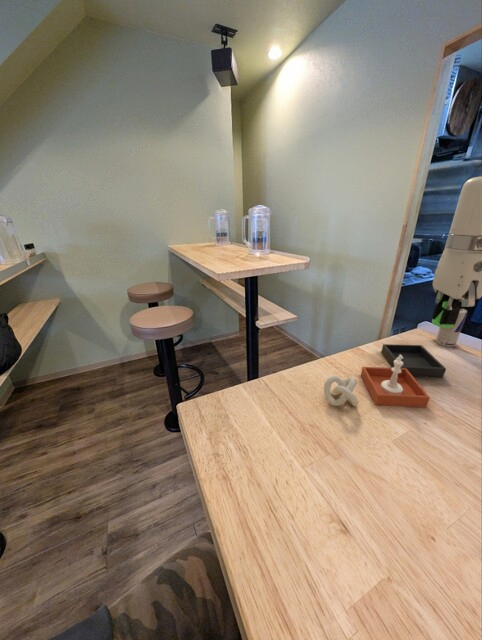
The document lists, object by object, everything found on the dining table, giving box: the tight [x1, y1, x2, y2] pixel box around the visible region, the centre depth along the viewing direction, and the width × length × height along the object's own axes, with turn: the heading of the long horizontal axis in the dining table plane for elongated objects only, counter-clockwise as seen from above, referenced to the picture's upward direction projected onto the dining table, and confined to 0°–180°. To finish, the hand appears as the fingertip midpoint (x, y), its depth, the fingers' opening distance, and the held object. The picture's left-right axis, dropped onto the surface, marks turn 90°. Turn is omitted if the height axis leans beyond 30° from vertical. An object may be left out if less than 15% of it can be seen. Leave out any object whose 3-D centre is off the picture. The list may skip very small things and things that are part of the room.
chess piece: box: [380, 355, 403, 395], centre depth 61 cm, size 5×5×10 cm
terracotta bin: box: [360, 366, 431, 408], centre depth 63 cm, size 11×11×3 cm
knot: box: [323, 375, 360, 407], centre depth 60 cm, size 8×8×6 cm
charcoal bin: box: [380, 343, 447, 379], centre depth 73 cm, size 11×12×3 cm
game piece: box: [431, 301, 454, 328], centre depth 59 cm, size 4×4×6 cm
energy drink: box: [435, 308, 468, 348], centre depth 81 cm, size 5×5×12 cm
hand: (443, 321), depth 60 cm, fingers closed on game piece, 2 cm apart
